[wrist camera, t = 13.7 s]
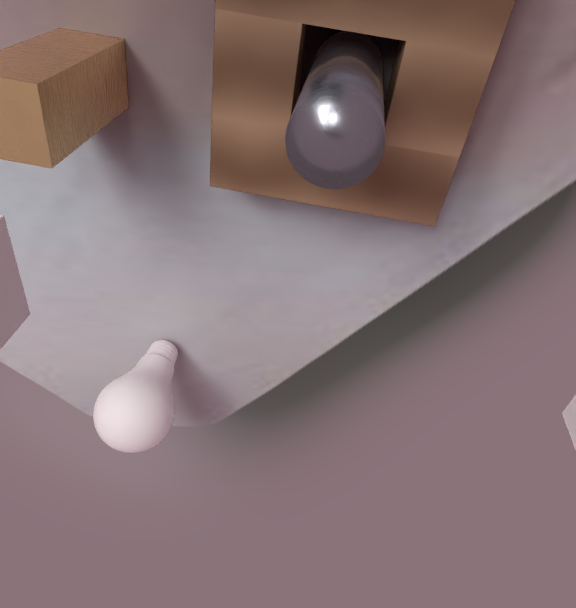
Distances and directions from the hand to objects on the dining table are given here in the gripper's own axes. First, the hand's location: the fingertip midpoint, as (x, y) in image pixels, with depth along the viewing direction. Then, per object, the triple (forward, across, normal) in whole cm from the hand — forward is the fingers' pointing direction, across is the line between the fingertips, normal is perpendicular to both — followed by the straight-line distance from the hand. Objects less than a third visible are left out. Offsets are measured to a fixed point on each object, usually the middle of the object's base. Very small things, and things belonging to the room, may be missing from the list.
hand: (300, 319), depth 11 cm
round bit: (+23, 0, 0) cm, 23 cm away
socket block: (+23, 0, 0) cm, 23 cm away
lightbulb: (+24, -11, -26) cm, 37 cm away
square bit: (+23, -15, -3) cm, 28 cm away
